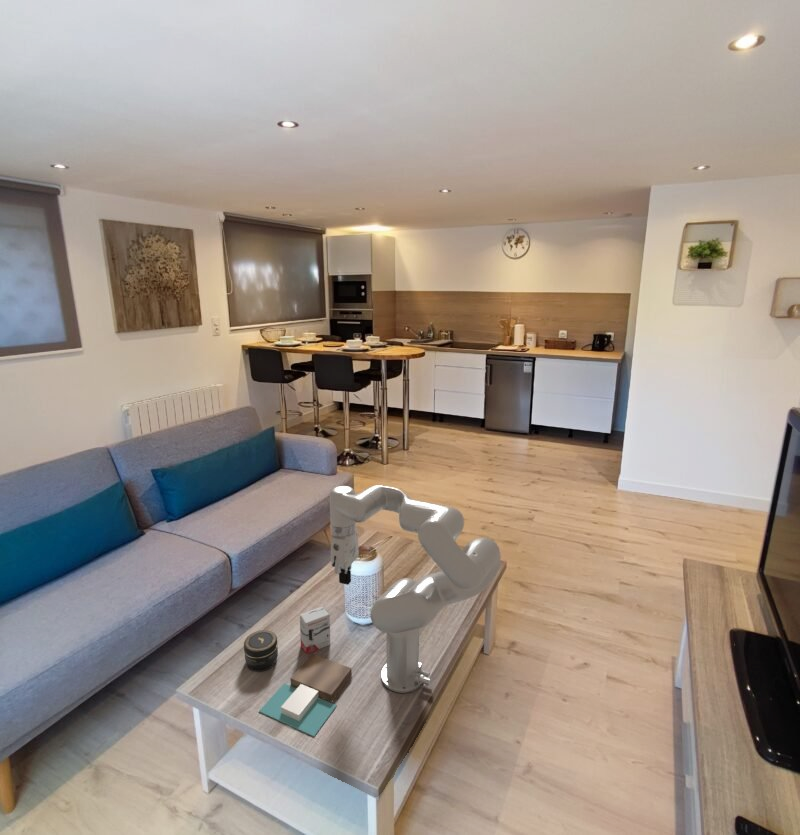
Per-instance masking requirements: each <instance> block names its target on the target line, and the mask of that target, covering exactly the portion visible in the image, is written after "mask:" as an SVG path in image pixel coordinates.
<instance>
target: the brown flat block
mask: <svg viewBox="0 0 800 835" xmlns="http://www.w3.org/2000/svg"><path fill="white" fill-rule="evenodd" d="M352 674H353V673H352V667H349V666H346V665H344V664H341V663H339V662H336V661H334V660H330V659H327V658H326V657H322V656H320V655H317V654H315V653H311V655H309V657H308V658H307V659H306V660H305V661H304V663H302V664H301V666H300V667H299V668H298V669H297V670H296V671H295V672H294V673H293V674H292V676H291V677H290V678H289V679H290V686H292V687H294V688H298V687H299V686H300V684H303V685H305V686H307V687H310V688H312V689H315V690H317V691H318V693H319V697H318V698H321V699H323V700H325V701H328V702H330V703H332V702H333V701H334V699H335V698H336V697H337V695H338V694H339V693H340V691H341V690H342V689H343V688H344V687H345V685H346V683H347V682H348V681H349V679H350V678H351V676H352Z"/></svg>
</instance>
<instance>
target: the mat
mask: <svg viewBox="0 0 800 835" xmlns="http://www.w3.org/2000/svg"><path fill="white" fill-rule="evenodd" d="M296 689H297V688H296V687H294V686H291V685H289V684H286V683H282V685H281V686H280V687H279V688H278V690H276V692H274V693H273V695H272V696H271V697H270V698H269V700H267V701H266V703H265V704H263V706H262V707H261V708H260V709H259V710H258V712H259V713H261V714H263V715H265V716H268V717H270V718H272V719H274V720H276V721H278V722H280V723H282V724H285V725H286V726H289V727H292V728H293V729H296V730H298V731H300V732H302V733H304V734H307V735H309V736H311V737H312V738H315V736H316V735H317V734H318V732H319V731H320V729H322V727H323V726H324V724H325V722H326V721H327V720H328V718H329V717H330V716H331V714H333V712H334V710H335V709H336V708H337V704H334V703H332V702H330V701H327V700H325V699H323V698H320V697H318V698H317V700H316V701H315V702H314V703H313V705H312V706H311V707H310V708H309V710H308V711H307V712H306V713H305V715H304V716H303V717H302V718H301V720H300V721H297V720H295V719H293V718H291V717H289V716H286V715H284V714H282V713H281V706H282V705H283V704H284V703H285V702H286V701H287V699H288V698H289V697H290V696H291V695H292V694H293V692H294V691H295V690H296Z"/></svg>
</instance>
